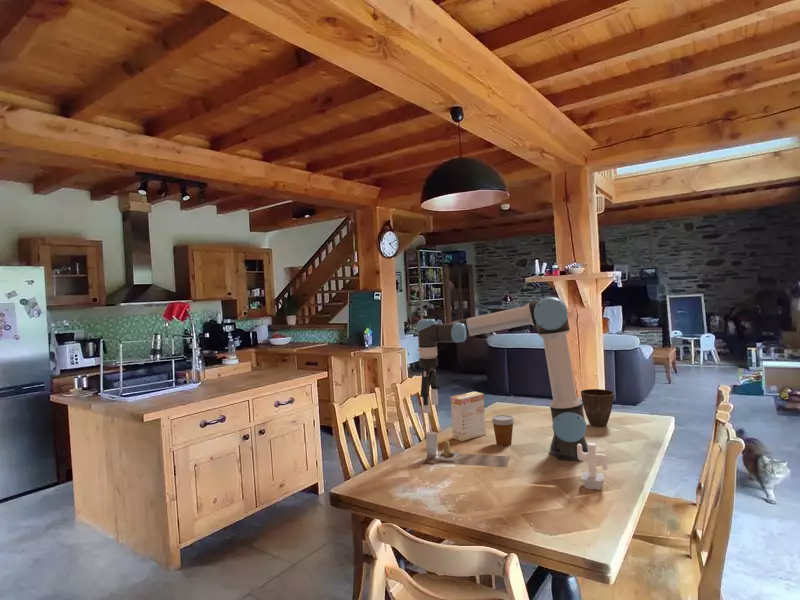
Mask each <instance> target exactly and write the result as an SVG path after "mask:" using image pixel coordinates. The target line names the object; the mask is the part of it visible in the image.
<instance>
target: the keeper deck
mask: <svg viewBox="0 0 800 600" xmlns="http://www.w3.org/2000/svg"><path fill="white" fill-rule="evenodd" d="M450 445H451V444H450V441H449V440H447V439H446V440H444V441H443V452H444V456H441V457H447V458H452V457H453V456H450V452H451V449H450ZM509 461H510V456H509V455H508V456H506V455H488V454H470V453H459V456H458V458H457V460H456V461H455V462H443V461H435V459H432V458H427V457H426V458H425V459H424V460H423V463H422V464H425V465H435V464H447V465H464V466H465V465H466V466H481V467H494V468H495V467H496V468H497V467H499V468H508V464H509Z"/></svg>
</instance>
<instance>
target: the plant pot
mask: <svg viewBox="0 0 800 600" xmlns="http://www.w3.org/2000/svg"><path fill="white" fill-rule="evenodd" d="M580 396H581V399H582V401H583V411H584V412H585V416H586V418H587V421H588V423H589V425H590V427H594V428H605V427H607V426H608V422H609V420H610V416H611V413H612V408H613V403H614V397H615V392H614V391H611V390H610V389H609V390H608V389H601V388H600V389H598V388H597V389H596V388H590V389H582V390H580Z"/></svg>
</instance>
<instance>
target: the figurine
mask: <svg viewBox="0 0 800 600" xmlns="http://www.w3.org/2000/svg"><path fill="white" fill-rule="evenodd" d="M587 449H588V453H585V452H583V451H582V445H581V444H578V445H577V456H578V459H579V460H578V461H583V462H588V471H582V472H581V476H580V481H581V482H582V484H583V486H584V487H585V489H586V490H593V489H597V490H596V491H601V490H602V489H601V488H602V486H603V484H604V482H605V476H606V475H605V474H606V473H602V472H597V463H601V465H602V471H604V472H606V471H608V470H609V469H608V458H607V457H608V456H607V455H606V454H604V453H597V451H596V450H597V444H596V443H595V442H593V441H589V442H587Z"/></svg>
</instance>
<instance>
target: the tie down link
mask: <svg viewBox="0 0 800 600" xmlns="http://www.w3.org/2000/svg"><path fill="white" fill-rule="evenodd" d="M437 432H438V431H427V432H426V433H425V445H426V447H425V448H426V458H432V459H435V461H443V462H455V461H456V460H457V458H458V456H459V454H460V452H459V451H450V456H453V457H452V458H447V457H441V456H444V450H443V451H442V450H441V451H440V450H439V446H438V433H437Z"/></svg>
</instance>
